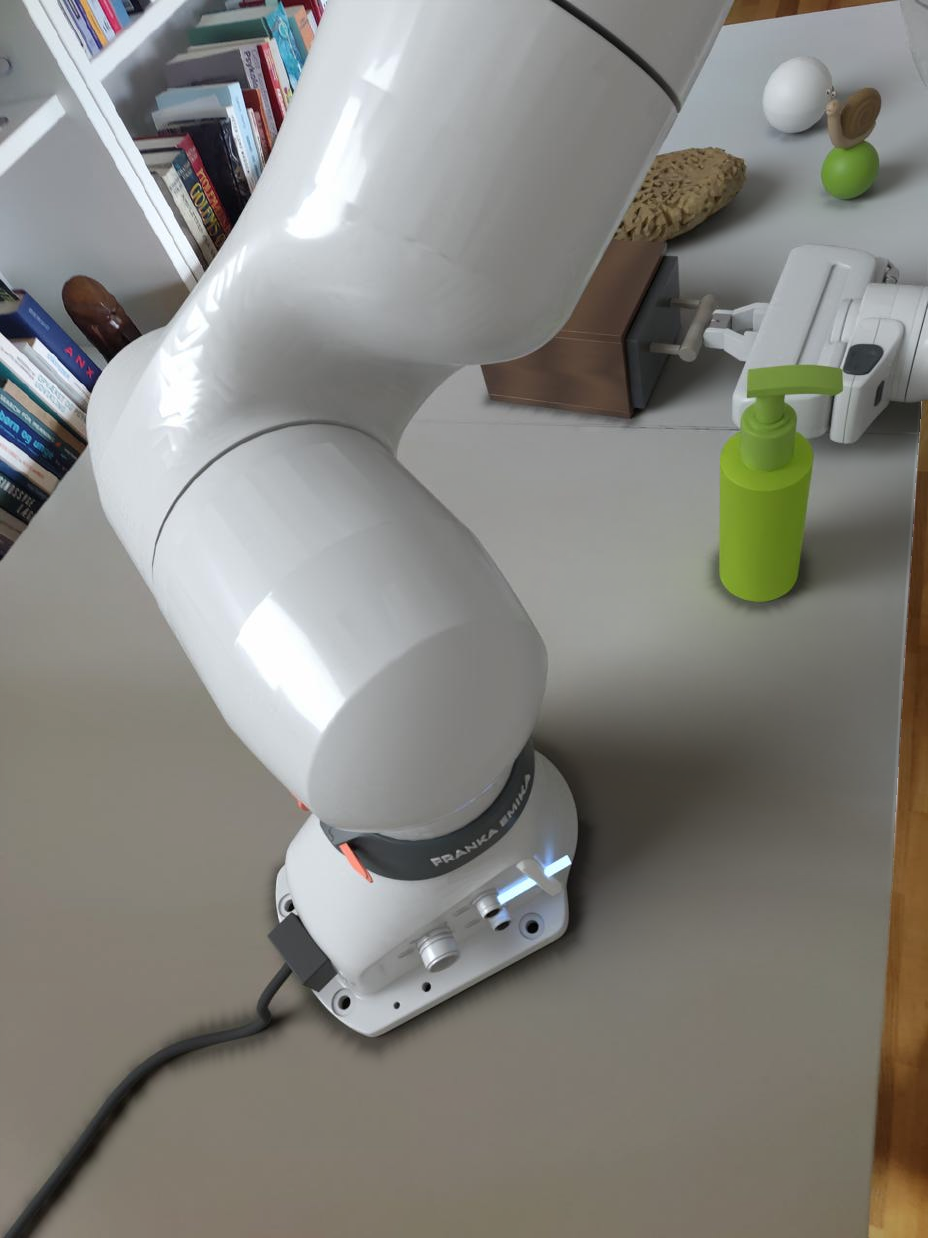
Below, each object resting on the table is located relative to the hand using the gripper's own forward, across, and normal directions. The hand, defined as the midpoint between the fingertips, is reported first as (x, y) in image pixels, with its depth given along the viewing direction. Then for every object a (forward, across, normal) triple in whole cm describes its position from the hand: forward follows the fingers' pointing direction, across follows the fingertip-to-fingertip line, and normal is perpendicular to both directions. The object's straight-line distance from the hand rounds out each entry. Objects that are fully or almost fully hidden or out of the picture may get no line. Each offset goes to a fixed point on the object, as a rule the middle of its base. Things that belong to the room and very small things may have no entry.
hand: (708, 327), depth 75 cm
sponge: (+13, -22, +6) cm, 26 cm away
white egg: (+3, -42, +6) cm, 43 cm away
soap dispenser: (-10, +20, +6) cm, 23 cm away
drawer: (+9, 0, +5) cm, 10 cm away
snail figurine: (-6, -29, +6) cm, 30 cm away
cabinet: (+13, 0, +6) cm, 14 cm away
